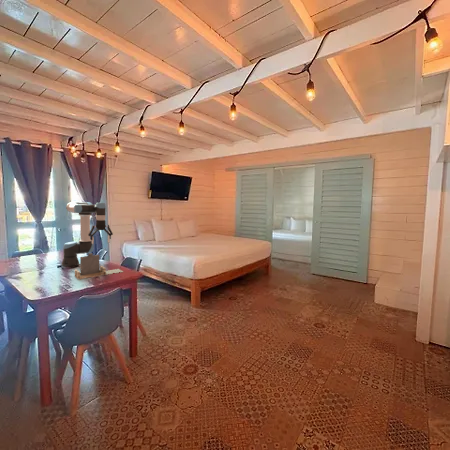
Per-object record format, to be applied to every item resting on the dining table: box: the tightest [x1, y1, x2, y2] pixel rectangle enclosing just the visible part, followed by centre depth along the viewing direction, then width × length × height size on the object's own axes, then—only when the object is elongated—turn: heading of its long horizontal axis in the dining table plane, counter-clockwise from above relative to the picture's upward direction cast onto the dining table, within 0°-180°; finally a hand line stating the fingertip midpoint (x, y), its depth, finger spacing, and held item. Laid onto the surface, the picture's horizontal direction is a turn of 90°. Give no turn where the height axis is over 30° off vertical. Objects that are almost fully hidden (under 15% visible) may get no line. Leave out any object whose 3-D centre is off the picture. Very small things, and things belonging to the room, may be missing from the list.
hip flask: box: [79, 252, 100, 276], centre depth 211 cm, size 16×4×20 cm, turn 145°
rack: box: [74, 265, 107, 280], centre depth 212 cm, size 10×22×6 cm, turn 135°
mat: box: [106, 268, 124, 275], centre depth 225 cm, size 12×15×1 cm
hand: (100, 243), depth 218 cm, fingers open, 13 cm apart
